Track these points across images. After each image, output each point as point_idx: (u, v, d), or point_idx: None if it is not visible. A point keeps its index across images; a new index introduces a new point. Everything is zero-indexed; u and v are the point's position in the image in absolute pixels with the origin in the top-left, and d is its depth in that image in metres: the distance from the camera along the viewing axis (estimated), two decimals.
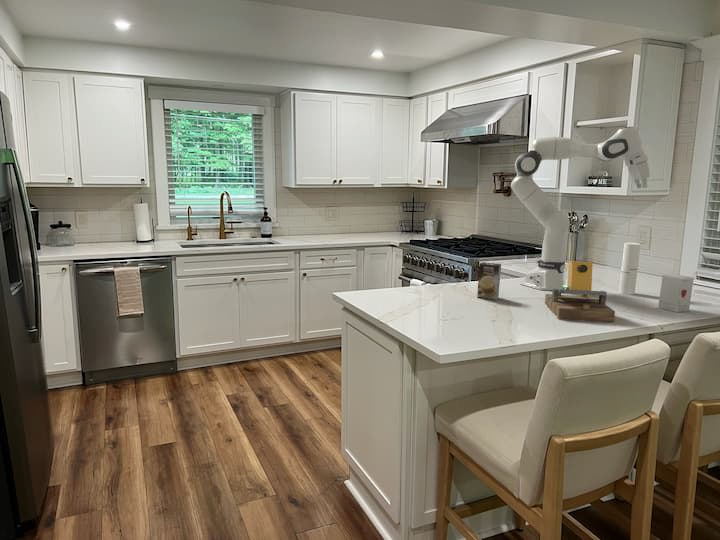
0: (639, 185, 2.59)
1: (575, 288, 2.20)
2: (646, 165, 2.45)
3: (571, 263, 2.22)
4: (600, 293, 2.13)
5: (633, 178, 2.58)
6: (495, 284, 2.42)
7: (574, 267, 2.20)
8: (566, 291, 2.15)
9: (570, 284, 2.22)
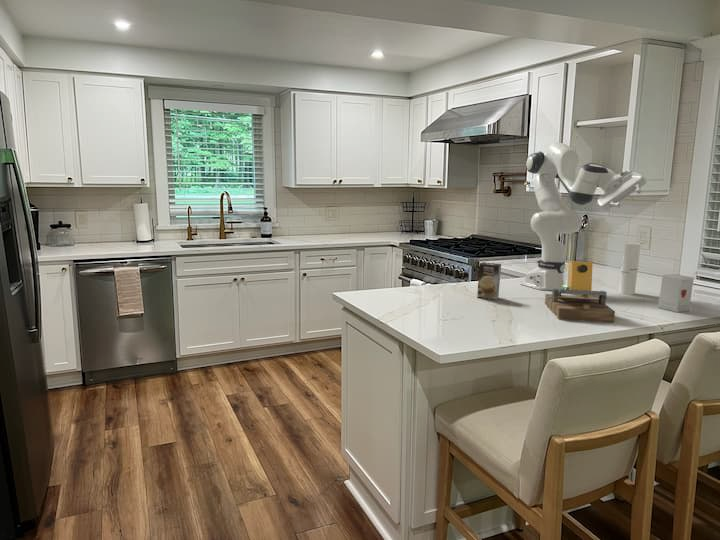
0: (619, 204, 2.24)
1: (575, 288, 2.20)
2: None
3: (571, 263, 2.22)
4: (600, 293, 2.13)
5: (614, 196, 2.27)
6: (495, 284, 2.42)
7: (574, 267, 2.20)
8: (566, 291, 2.15)
9: (570, 284, 2.22)
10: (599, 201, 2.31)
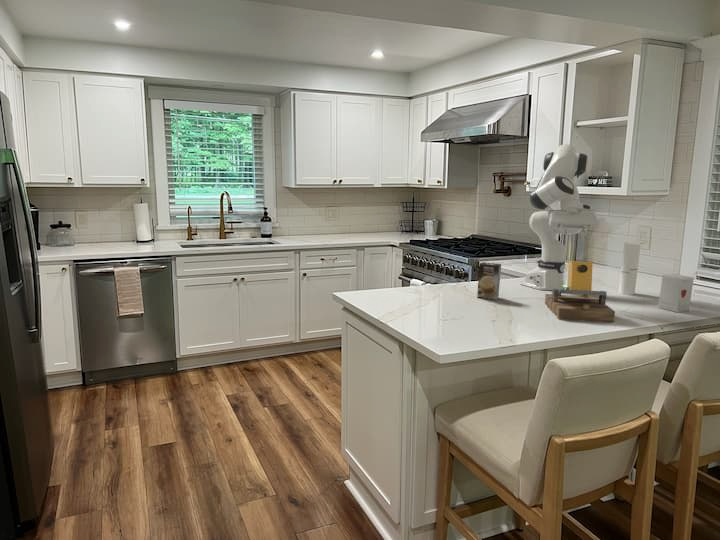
0: None
1: (575, 288, 2.20)
2: None
3: (571, 263, 2.22)
4: (600, 293, 2.13)
5: (566, 222, 2.36)
6: (495, 284, 2.42)
7: (574, 267, 2.20)
8: (566, 291, 2.15)
9: (570, 284, 2.22)
10: (552, 215, 2.38)
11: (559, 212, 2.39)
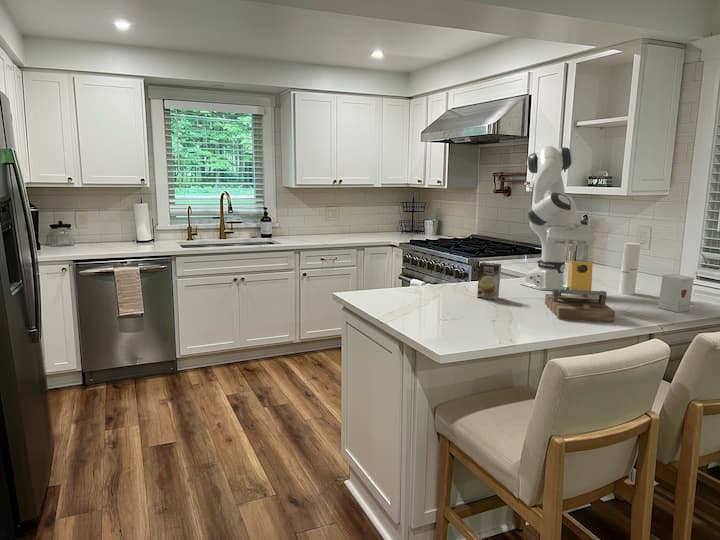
0: None
1: (575, 288, 2.20)
2: None
3: (571, 263, 2.22)
4: (600, 293, 2.13)
5: (563, 237, 2.37)
6: (495, 284, 2.42)
7: (574, 267, 2.20)
8: (566, 291, 2.15)
9: (570, 284, 2.22)
10: (550, 231, 2.39)
11: (556, 228, 2.40)
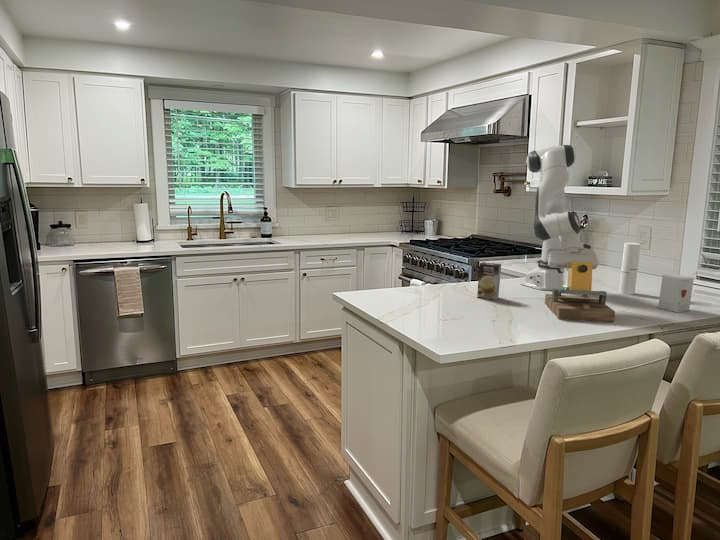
0: None
1: (575, 288, 2.20)
2: None
3: (571, 263, 2.22)
4: (600, 293, 2.13)
5: (565, 262, 2.29)
6: (495, 284, 2.42)
7: (574, 267, 2.20)
8: (566, 291, 2.15)
9: (570, 284, 2.22)
10: (551, 255, 2.31)
11: (558, 251, 2.32)
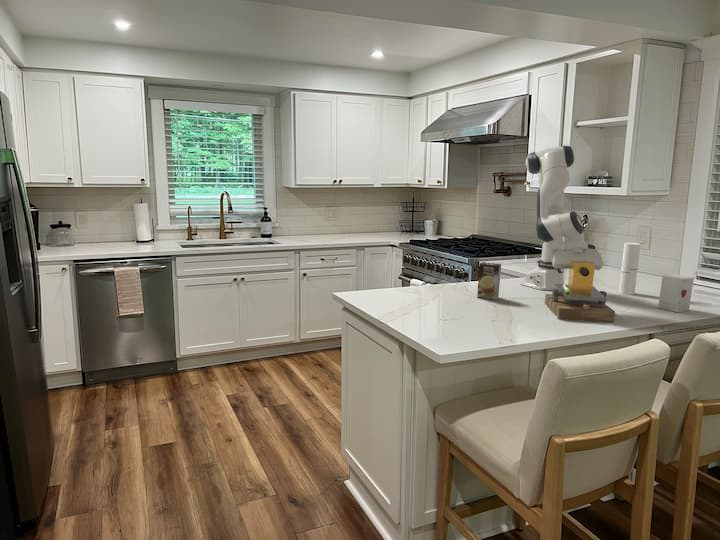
0: None
1: (575, 290, 2.19)
2: None
3: (573, 265, 2.18)
4: (600, 299, 2.13)
5: (570, 263, 2.27)
6: (495, 284, 2.42)
7: (576, 270, 2.17)
8: (566, 297, 2.15)
9: (571, 285, 2.21)
10: (556, 256, 2.29)
11: (563, 252, 2.30)
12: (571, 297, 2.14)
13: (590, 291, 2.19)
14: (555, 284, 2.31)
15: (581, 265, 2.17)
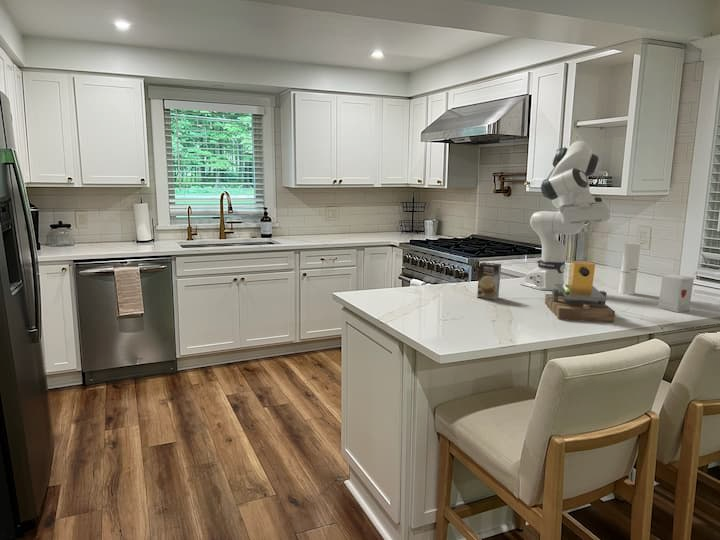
0: None
1: (575, 290, 2.19)
2: None
3: (573, 265, 2.18)
4: (600, 299, 2.13)
5: (579, 219, 2.34)
6: (495, 284, 2.42)
7: (576, 270, 2.17)
8: (566, 297, 2.15)
9: (571, 285, 2.21)
10: (565, 213, 2.36)
11: (571, 208, 2.36)
12: (571, 297, 2.14)
13: (590, 291, 2.19)
14: (555, 284, 2.31)
15: (581, 265, 2.17)
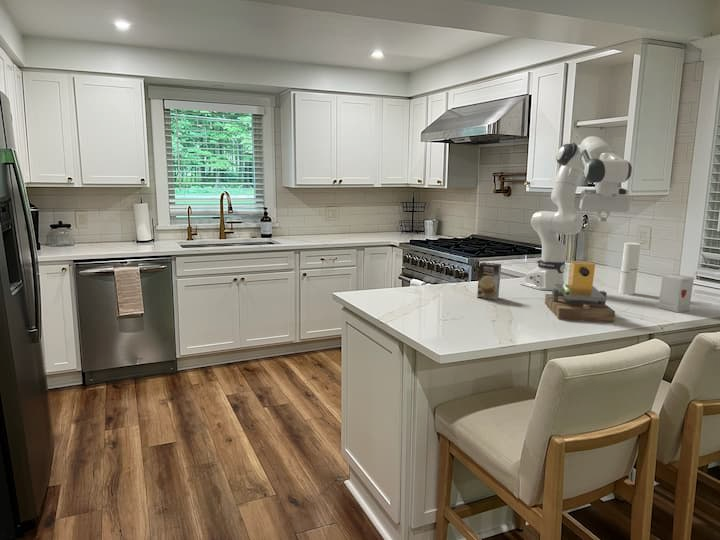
0: None
1: (575, 290, 2.19)
2: None
3: (573, 265, 2.18)
4: (600, 299, 2.13)
5: (597, 209, 2.33)
6: (495, 284, 2.42)
7: (576, 270, 2.17)
8: (566, 297, 2.15)
9: (571, 285, 2.21)
10: (584, 201, 2.34)
11: (592, 196, 2.33)
12: (571, 297, 2.14)
13: (590, 291, 2.19)
14: (555, 284, 2.31)
15: (581, 265, 2.17)
